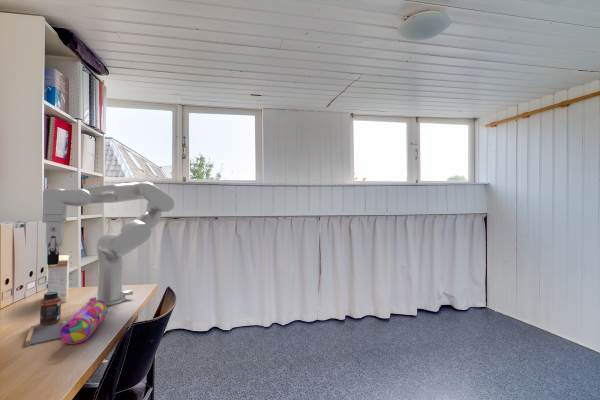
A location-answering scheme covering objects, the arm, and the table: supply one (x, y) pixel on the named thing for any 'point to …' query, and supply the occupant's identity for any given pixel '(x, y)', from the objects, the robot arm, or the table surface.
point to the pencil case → (84, 322)
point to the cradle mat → (43, 334)
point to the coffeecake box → (59, 277)
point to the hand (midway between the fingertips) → (53, 262)
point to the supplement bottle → (50, 308)
